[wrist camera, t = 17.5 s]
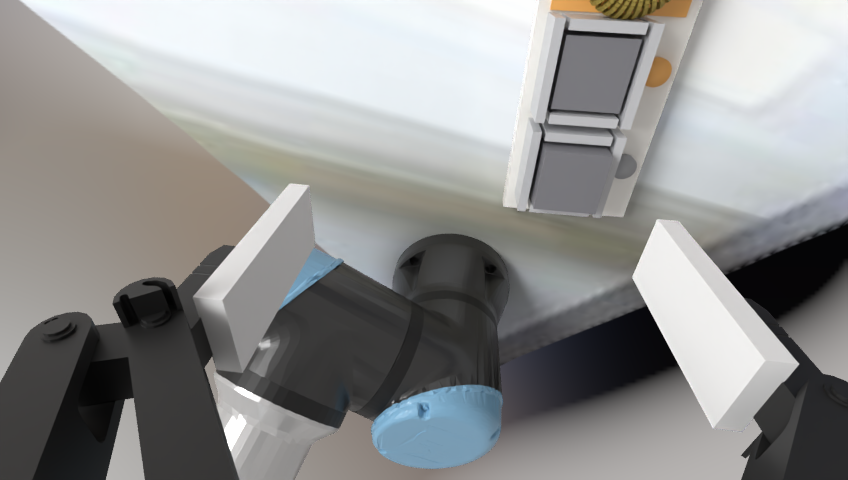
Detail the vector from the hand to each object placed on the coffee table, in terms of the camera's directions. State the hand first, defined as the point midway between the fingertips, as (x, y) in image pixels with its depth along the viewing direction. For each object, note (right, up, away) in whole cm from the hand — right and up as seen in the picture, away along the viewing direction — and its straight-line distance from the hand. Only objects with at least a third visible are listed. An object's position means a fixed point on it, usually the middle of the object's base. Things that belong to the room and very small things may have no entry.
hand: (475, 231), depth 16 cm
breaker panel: (+14, +15, +23) cm, 31 cm away
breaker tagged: (+12, +15, +21) cm, 29 cm away
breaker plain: (+12, +7, +24) cm, 28 cm away
